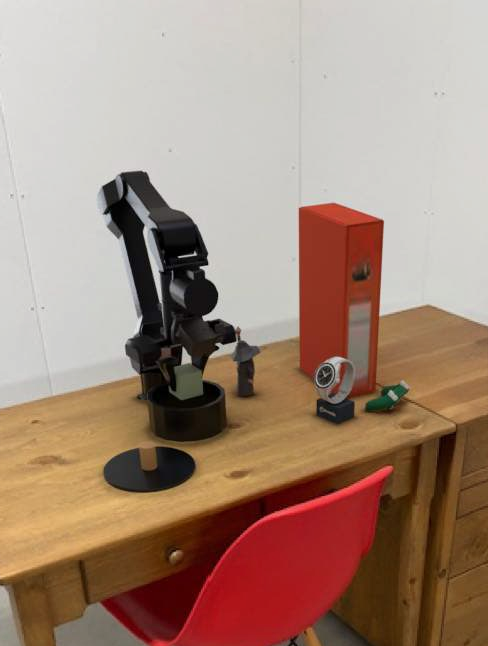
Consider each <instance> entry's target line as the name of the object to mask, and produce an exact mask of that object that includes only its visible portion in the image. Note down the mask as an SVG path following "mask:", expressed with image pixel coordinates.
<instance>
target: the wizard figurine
mask: <svg viewBox="0 0 488 646" xmlns="http://www.w3.org/2000/svg"><path fill="white" fill-rule="evenodd" d="M235 330H236V334H237V342H236V345H235V347H234V351H233V352H232V353H231V355H230V359H231V361H232V362H236V372H237V381H236V382H237V383H236V393H237V396H243V397H244V396H246V397H250V396H254V395H255V393H254V391H255V390H254V382H255V379H254V377H255V375H256V369H255V362H254V357H256V356H258V355H259V354H260V353H261V350H260V349H259V346H258V345H250V344H249V343H248V342H247V341H245V340H243V339H241V334H242V333H241V332H242V328H241V327H239V325H237V327H236V328H235Z"/></svg>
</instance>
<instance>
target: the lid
mask: <svg viewBox="0 0 488 646" xmlns="http://www.w3.org/2000/svg"><path fill="white" fill-rule="evenodd" d="M195 471H196V461H195V459H194V458H193V456H192V455H190V453H188V452H187V451H185V450H182V449H180V448H179V449H178V448H175V447H172V446H171V447H170V446H162V445H156V443H155V442H154V441H152V440H151V441H150V440H146V441H142V442H140V443H139V444H138V447H136V448H132V449H128V450H125V451H123V452H120V453H118V454H116V455H115V456H112V458H110V459H109V460H108V461H107V462H106V463H105V465H104V466H103V472H102V473H103V477H104V480H105V481H106V482H107V483H108V484H109V485H110V486H112V487H114V488H115V489H118V490H121V491H125V492H130V493H155V492H161V491H166V490H169V489H173V488H175V487H178V486H179V485H181V484H184V483H185V482H187V481H188V480H190V478H191V477H193V475H194V474H195Z"/></svg>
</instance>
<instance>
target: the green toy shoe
mask: <svg viewBox="0 0 488 646" xmlns="http://www.w3.org/2000/svg"><path fill="white" fill-rule="evenodd" d="M409 391H410V387H409V385H408V384H407V383H406V381H404V380H403V379H401V380H400V382H398V383H397V384H392V385H387V386H385V387H382V389H381V390H380V395H381V396H379V397H376V398H372V399H370V400H368V401H367V402H365V404H364V409H365V411H368V412H378V411H384V410H389V411H391V410H392V409H394V408H395V407H394V406H395V405H398V404H399V403H400V402H401V401H400V400H401V399H402V398H404V396H405V395H406V394H408V393H409Z"/></svg>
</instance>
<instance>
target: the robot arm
mask: <svg viewBox="0 0 488 646" xmlns="http://www.w3.org/2000/svg"><path fill="white" fill-rule="evenodd" d="M96 202H97V208H98V212H99V214H100V215H101V216H103V220H104V223H105V227H106V228H107V229H108V230H109V231H110V232H111V233H112V235H113V236H114V237H115V238H116V239H117V240H118V243H119V247H120V252H121V255H122V259H123V263H124V269H125V271H126V272H125V273H126V275H127V280H128V284H129V288H130V292H131V297H132V300H133V304H134V309H135V312H136V316H137V322H136V325H135V327H134V330H133V331H134V332H133V334H132V336H133V337H131V338H127V340H126V342H125V344H124V351H125V355H126V356H127V357H129V360H130V364H131V368H132V369H133V370H134V372H136V373H137V374H138V375H139V376H140V383H141V393H138V394H137V395H136V399H138V400H144V401H147V395H148V392H149V391H150V390H151V389H153V388H154V387H156V386H158V385H160V384H163V383H165V382H168V384H169V386H170V388H171V390H172V391H173V392H176V378H175V371H174V367H176V366H180V365H182V363H183V353H184V351H186V353H187V355H188V356H190V361H191V365H193V366H195V367H196V368H198V369H200V370H201V371H202V377H203V376H204V372H205V369H206V366H207V363H208V360H209V358H210V357H211V355H213V354H214V353H215V352H217V351H219V350H220V346H219V345H217V344H220V345H222V346H224V345H229V344H233V343H237V342H238V339H237V334H236V327H235V326H234V325H233V324H232V323H229V322H227V321H225V320H223V319H221V318H215V319H211V320H210V319H208V320H204V317H205V316H207V315H209V314H211V313H212V312H213V311H214V310H215V309H216V306H217V305H218V301H219V291H218V288H217V286H216V285H215V284H214V282H213V281H211V280H210V279H208V278H207V277H206V271H205V269H203V268H201V267H206V266H209V264H210V263H209V259H208V256H209V252H208V249H207V246H206V243H205V241H204V239H203V236H202V233H201V231H200V229H199V227H198V225H197V223H195V221H194V220H193V218H192V217H191V216H189V215H188V214H187V213H186V212H184V211H182V210H178V209H175V208H172V207H171V206H170V204H168V203H167V201H166V199H164V197H163V196H162V195H161V194H160V192H159V191H158V190H157V188H156V187H155V186H154V185H153V183H152V182H151V178H150V176H149V173H148V172H147V171H143V170H132V171H130V170H129V171H121V172H120V173H118V174H117V175H116V176H115V178H114V179H112V180H110V181H109V182H107V183H105V184H104V185H102V186H101V187H100V189H99V191H98V193H97V195H96ZM145 227H146V228H147V231H146V238H145V234H144V230H145ZM146 240H147V242H146ZM147 244H148V248H149V250H150V253H151V255H152V257H153V260H154V262H155V264H156V266H157V268H158V281H159V291H160V292H159V293H160V297H159V293H158V289H157V285H156V280H155V276H154V272H153V267H152V264H151V260H150V255H149V251H148V248H147ZM160 301H161V302H160ZM183 350H184V351H183Z"/></svg>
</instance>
